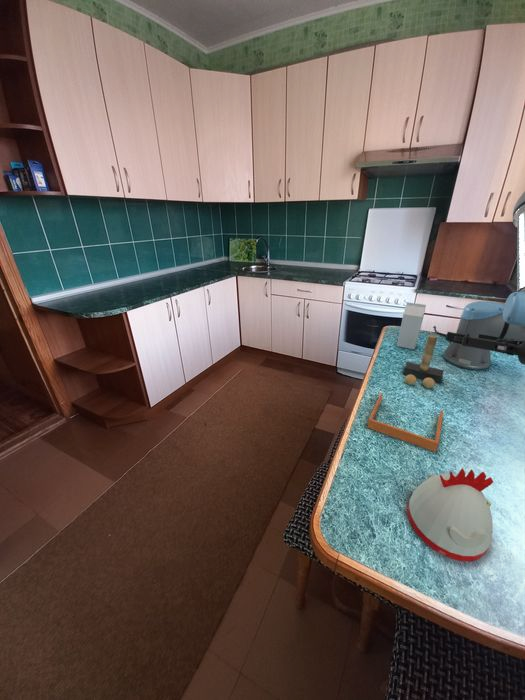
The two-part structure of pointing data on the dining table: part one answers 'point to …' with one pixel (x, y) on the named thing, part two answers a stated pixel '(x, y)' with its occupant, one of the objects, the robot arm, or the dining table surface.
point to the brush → (425, 363)
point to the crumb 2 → (428, 382)
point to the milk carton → (411, 325)
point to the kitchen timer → (453, 514)
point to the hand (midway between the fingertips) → (463, 337)
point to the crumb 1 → (410, 379)
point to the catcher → (404, 434)
